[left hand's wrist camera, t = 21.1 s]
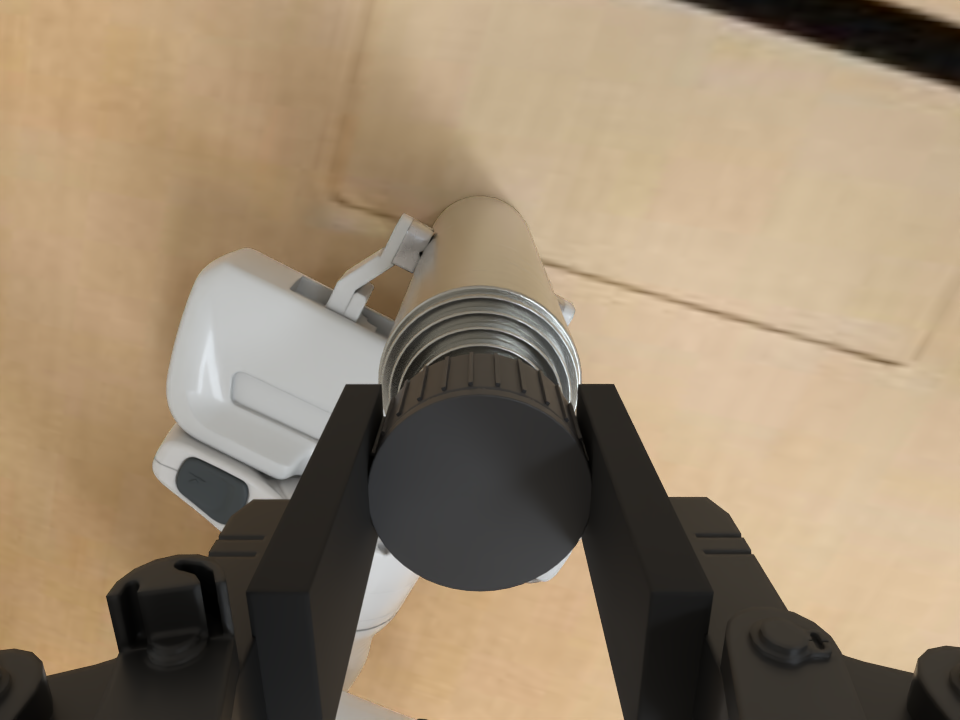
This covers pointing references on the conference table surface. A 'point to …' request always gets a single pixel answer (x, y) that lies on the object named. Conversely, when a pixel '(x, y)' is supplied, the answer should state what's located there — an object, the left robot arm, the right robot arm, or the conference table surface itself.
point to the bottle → (480, 301)
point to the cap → (479, 474)
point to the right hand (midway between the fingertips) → (489, 260)
